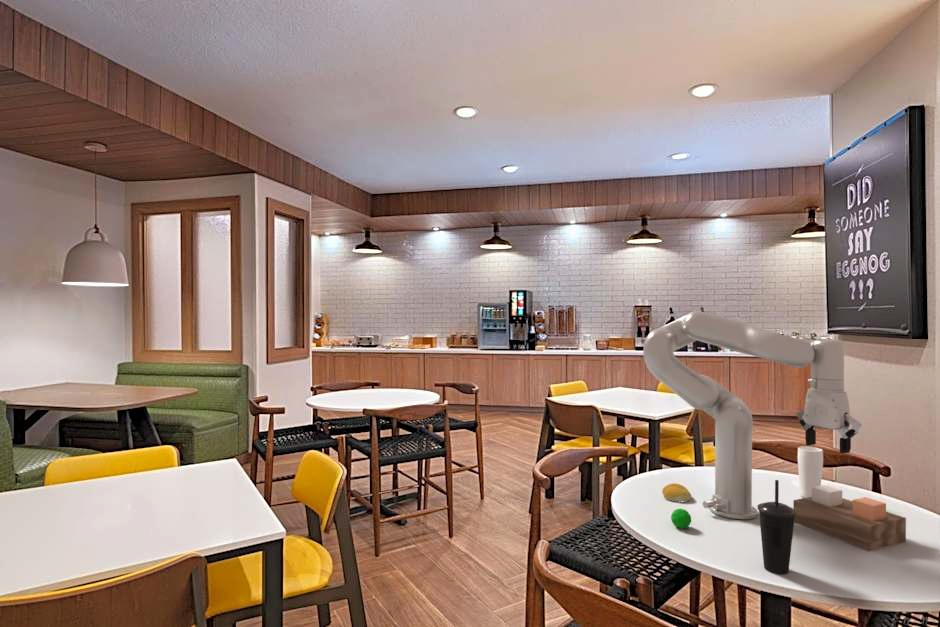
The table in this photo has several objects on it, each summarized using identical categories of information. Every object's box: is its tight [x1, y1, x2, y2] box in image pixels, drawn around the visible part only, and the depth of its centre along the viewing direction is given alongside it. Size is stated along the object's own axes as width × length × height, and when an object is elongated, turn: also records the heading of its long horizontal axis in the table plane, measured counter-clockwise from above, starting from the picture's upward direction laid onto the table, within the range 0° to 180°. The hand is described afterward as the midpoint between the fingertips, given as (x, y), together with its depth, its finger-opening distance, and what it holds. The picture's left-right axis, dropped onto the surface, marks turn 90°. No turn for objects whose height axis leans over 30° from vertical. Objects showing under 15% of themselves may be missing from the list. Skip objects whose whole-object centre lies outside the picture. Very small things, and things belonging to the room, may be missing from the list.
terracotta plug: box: [852, 496, 887, 521], centre depth 143 cm, size 5×5×4 cm
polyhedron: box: [670, 508, 692, 529], centre depth 151 cm, size 5×5×5 cm
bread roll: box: [661, 482, 692, 503], centre depth 174 cm, size 8×9×4 cm
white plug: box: [812, 484, 843, 507], centre depth 153 cm, size 5×5×4 cm
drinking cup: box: [757, 479, 796, 575], centre depth 126 cm, size 8×8×20 cm
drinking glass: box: [797, 445, 824, 498], centre depth 174 cm, size 7×7×15 cm
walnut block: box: [792, 497, 907, 552], centre depth 148 cm, size 14×20×6 cm
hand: (827, 448), depth 153 cm, fingers open, 9 cm apart
